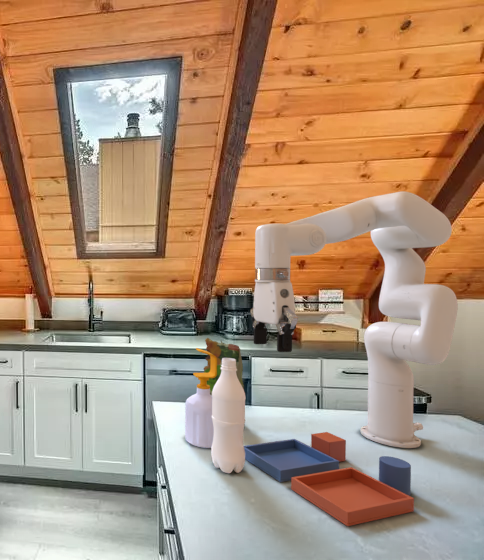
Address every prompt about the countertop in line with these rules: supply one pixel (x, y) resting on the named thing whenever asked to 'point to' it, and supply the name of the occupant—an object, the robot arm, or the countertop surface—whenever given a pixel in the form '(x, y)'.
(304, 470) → the blue tray
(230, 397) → the water bottle
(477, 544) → the countertop surface
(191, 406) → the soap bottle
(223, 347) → the pouch
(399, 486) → the blue cylinder
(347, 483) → the terracotta tray
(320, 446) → the block
